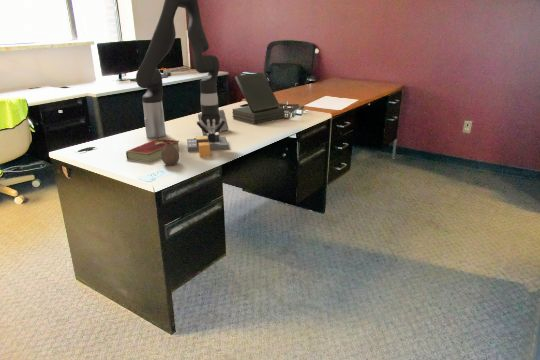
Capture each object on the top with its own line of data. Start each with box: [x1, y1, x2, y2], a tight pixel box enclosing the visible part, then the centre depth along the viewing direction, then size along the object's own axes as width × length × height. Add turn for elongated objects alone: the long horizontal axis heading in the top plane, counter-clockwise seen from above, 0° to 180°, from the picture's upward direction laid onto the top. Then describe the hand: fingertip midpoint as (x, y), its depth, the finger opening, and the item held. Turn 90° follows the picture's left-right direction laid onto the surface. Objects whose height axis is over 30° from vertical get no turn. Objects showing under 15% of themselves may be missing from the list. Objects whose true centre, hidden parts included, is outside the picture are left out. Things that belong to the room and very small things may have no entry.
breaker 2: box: [206, 132, 220, 141], centre depth 193 cm, size 5×5×3 cm
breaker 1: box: [195, 135, 208, 146], centre depth 187 cm, size 5×5×3 cm
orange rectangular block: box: [198, 142, 211, 158], centre depth 179 cm, size 4×4×5 cm
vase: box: [160, 143, 180, 167], centre depth 167 cm, size 7×7×9 cm
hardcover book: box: [125, 138, 180, 163], centre depth 182 cm, size 12×21×4 cm, turn 156°
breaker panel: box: [186, 136, 230, 153], centre depth 191 cm, size 18×14×3 cm
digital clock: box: [197, 109, 229, 136], centre depth 214 cm, size 16×9×11 cm, turn 122°
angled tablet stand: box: [232, 72, 285, 126], centre depth 238 cm, size 23×20×25 cm
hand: (212, 141), depth 188 cm, fingers closed
